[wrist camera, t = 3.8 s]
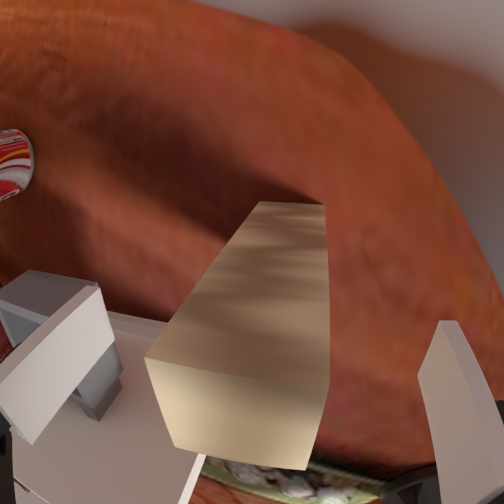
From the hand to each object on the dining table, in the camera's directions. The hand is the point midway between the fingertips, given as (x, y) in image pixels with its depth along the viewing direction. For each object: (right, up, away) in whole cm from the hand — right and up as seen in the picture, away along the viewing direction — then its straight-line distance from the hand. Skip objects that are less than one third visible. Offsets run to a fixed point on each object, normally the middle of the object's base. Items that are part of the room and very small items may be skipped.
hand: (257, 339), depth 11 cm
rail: (+3, +4, +11) cm, 12 cm away
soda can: (-25, +13, +14) cm, 31 cm away
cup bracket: (-12, -2, +17) cm, 21 cm away
